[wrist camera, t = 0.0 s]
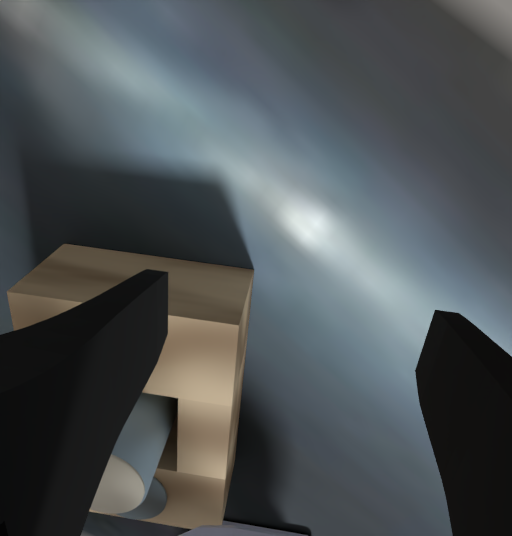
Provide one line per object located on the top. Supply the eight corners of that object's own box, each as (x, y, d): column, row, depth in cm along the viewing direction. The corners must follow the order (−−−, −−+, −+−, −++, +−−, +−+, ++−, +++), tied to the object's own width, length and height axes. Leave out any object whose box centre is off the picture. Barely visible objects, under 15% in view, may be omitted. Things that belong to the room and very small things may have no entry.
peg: (177, 433, 25) (146, 521, 21) (106, 421, 25) (60, 506, 21) (178, 376, 23) (145, 460, 19) (101, 364, 24) (50, 444, 19)
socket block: (234, 459, 30) (219, 537, 25) (85, 435, 31) (44, 506, 26) (254, 269, 23) (238, 328, 19) (63, 243, 24) (4, 293, 20)
